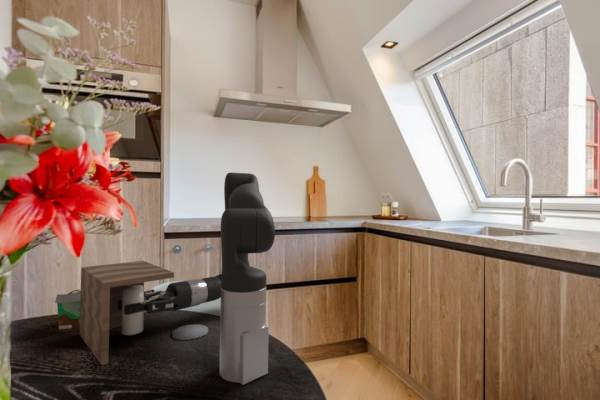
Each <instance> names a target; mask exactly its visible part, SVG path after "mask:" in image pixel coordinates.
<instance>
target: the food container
mask: <svg viewBox="0 0 600 400" xmlns="http://www.w3.org/2000/svg"><path fill="white" fill-rule="evenodd" d="M80 302H81V288H80V289H74V290H72V291H70V292H68V293H65V294H62V293H61V294H56V297H55V302H54V303H55V304H56V306H57V308H56V309H57V322H58V332H59V333H61V332H62V333H64V332H65V333H66V332H72V331H78V330H80Z"/></svg>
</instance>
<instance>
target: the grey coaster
mask: <svg viewBox="0 0 600 400" xmlns="http://www.w3.org/2000/svg"><path fill="white" fill-rule="evenodd" d="M207 334H209V328H208V326H206V325H203V324H186V325H182V326H179V327H177V328H175V329H174V330H173V331H172V333H171V337H172V338H173V339H175V340H177V341H192V340H191V339H194V340H197V339H196V338H198V339H200V338H199V337H201V338H203V337H205V336H206V335H207ZM204 335H205V336H204ZM202 336H203V337H202Z"/></svg>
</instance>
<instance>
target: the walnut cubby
mask: <svg viewBox="0 0 600 400" xmlns="http://www.w3.org/2000/svg"><path fill="white" fill-rule="evenodd" d="M80 269H81V270H80V289H81V302H80V329H79V336H80V337H81V338H82V340H83V341H84V343H85V344H86V345H87V347H88V348H89V350H90V351H91V352H92V353H93V355H94V357H95V358H96V359H97V361H98V362H99V363H100V365H101V366H105V365H108V364H109V353H110V352H109V349H110V348H109V347H110V345H109V344H110V330H111V329H112V330H113V329H116V328H120V327H121V328H122V309H118V308H117V302H118V300H122V288H123V287H126V286H131V285H143V286H144V287H145V283H147V282H148V283H149V282H154V281H161V280H167V279H172V278H175V272H174V271H171V270H169V269H167V268H166V269H165V268H163V267H160V266H158V265H155V264H152V263H151V262H148V261H145V260H136V261H128V262H120V263H119V262H117V263H111V264H110V263H109V264H101V265H92V266H84V267H83V266H81V268H80Z"/></svg>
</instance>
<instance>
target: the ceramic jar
mask: <svg viewBox="0 0 600 400" xmlns="http://www.w3.org/2000/svg"><path fill="white" fill-rule="evenodd" d="M144 292H145V285H144V286H143V285H131V286H126V287H123V288H122V326H121V334H122V335H124V336H133V335H137V334H140V333H142V332H143V331H144V312H142V311H141V312H138V313H133V314H129V315H126V314H124V306H125V305H129V304H134V303H139V302H141V304H142V302H143V301H144Z"/></svg>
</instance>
